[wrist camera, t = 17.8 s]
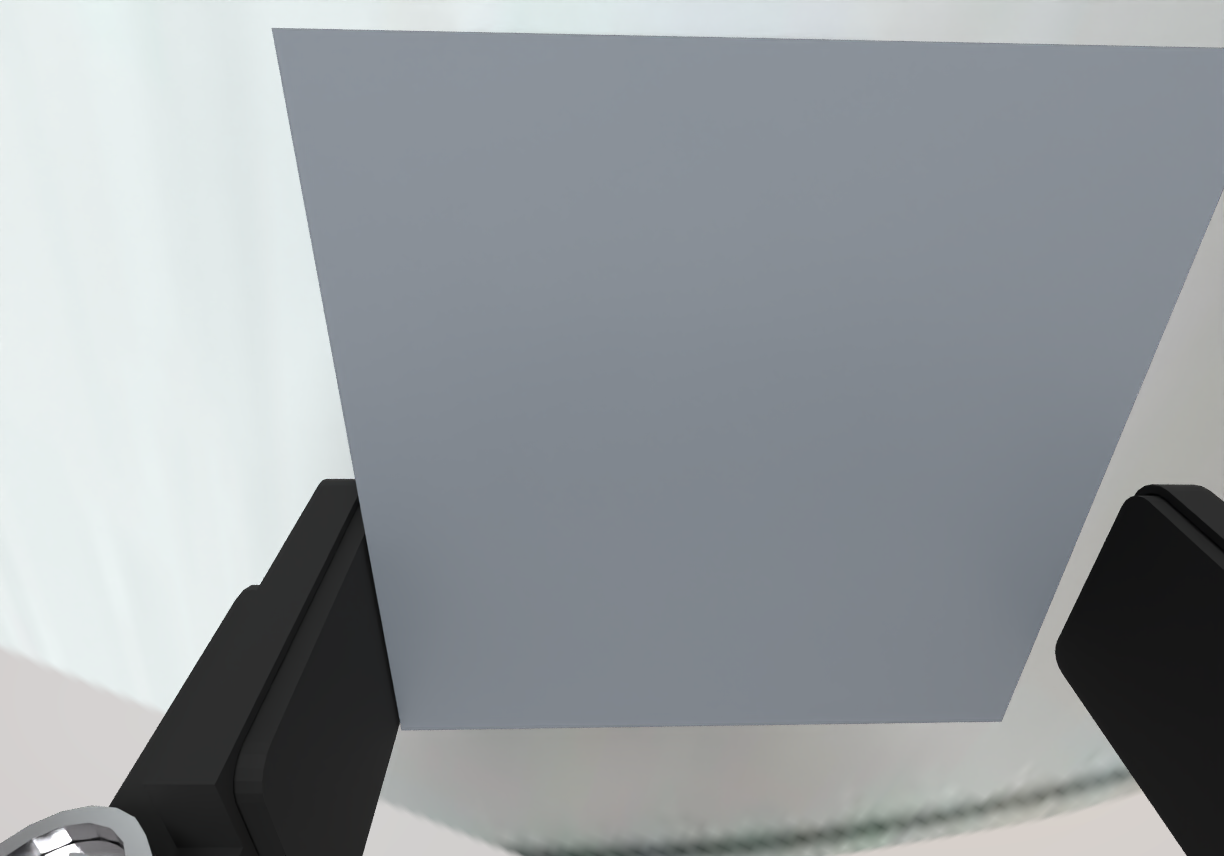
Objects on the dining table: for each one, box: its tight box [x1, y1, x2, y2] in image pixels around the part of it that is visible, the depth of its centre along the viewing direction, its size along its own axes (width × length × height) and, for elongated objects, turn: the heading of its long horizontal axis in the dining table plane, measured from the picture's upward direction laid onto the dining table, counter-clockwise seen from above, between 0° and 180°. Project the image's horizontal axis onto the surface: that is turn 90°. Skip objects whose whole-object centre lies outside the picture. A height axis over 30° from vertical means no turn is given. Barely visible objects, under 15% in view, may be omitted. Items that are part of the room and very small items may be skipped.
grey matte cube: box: [272, 28, 1224, 730], centre depth 11 cm, size 8×8×9 cm
